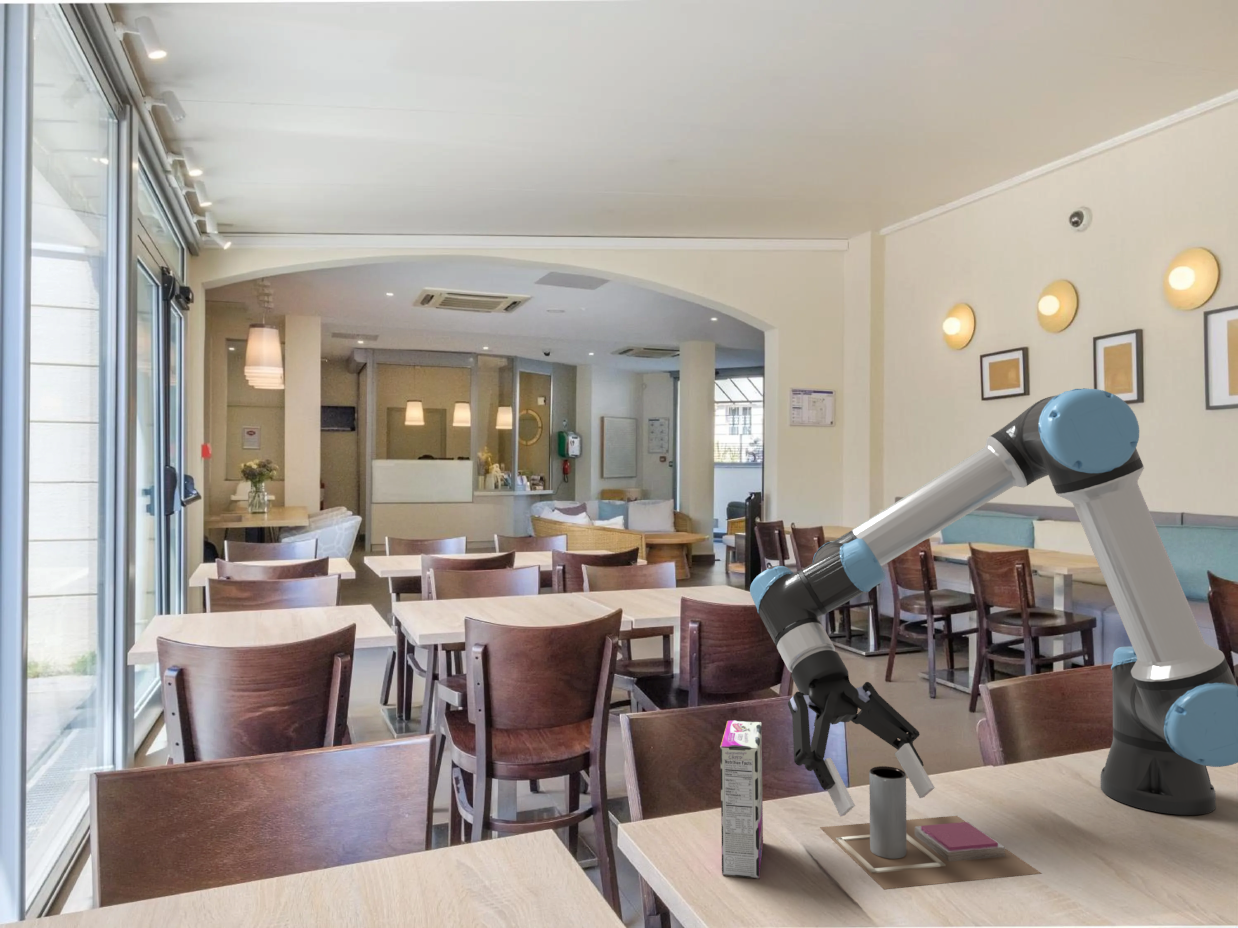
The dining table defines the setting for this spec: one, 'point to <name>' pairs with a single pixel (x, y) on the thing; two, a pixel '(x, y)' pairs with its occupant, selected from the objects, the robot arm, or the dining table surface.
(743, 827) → the candy bar box
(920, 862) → the walnut board
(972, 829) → the ink pad
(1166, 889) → the dining table surface
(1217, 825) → the dining table surface
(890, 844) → the gray cylinder
